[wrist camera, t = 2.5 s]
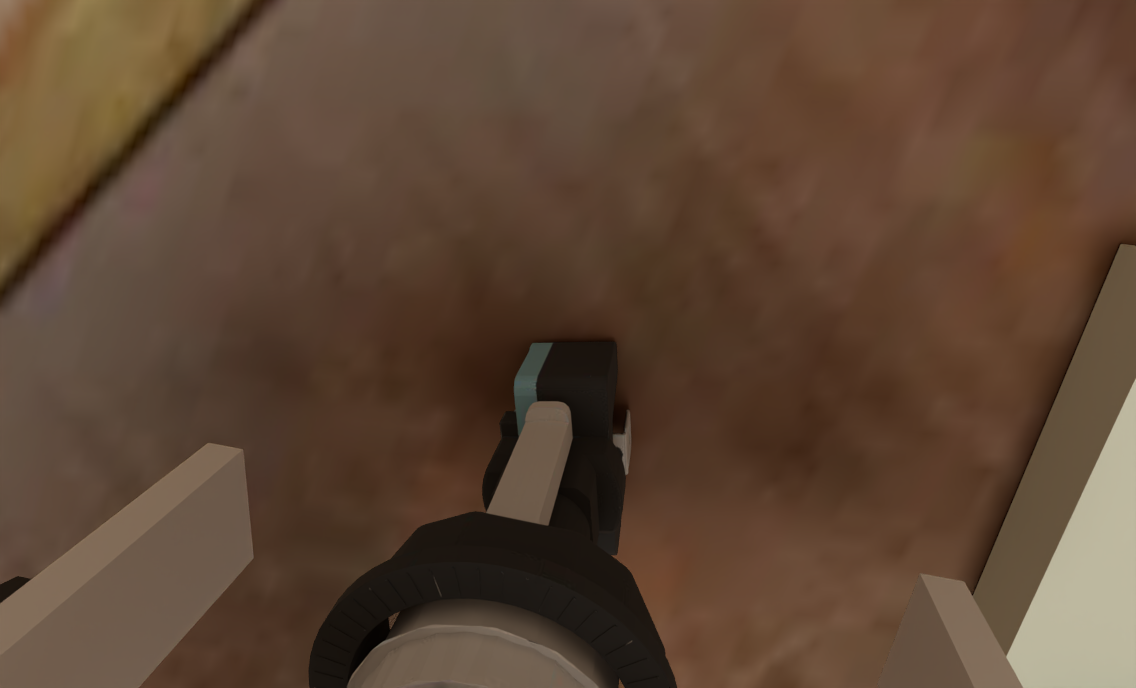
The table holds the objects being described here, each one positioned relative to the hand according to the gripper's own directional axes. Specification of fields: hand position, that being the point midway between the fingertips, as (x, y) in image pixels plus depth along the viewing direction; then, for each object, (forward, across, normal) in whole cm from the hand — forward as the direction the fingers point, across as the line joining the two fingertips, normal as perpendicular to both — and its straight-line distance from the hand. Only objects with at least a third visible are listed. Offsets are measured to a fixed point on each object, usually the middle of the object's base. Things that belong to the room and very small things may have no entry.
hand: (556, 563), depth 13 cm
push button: (+5, 0, 0) cm, 5 cm away
